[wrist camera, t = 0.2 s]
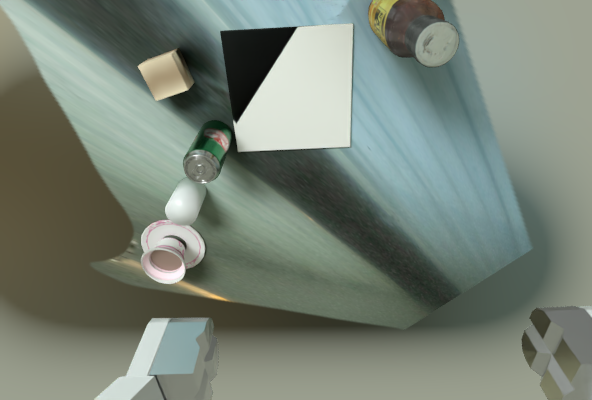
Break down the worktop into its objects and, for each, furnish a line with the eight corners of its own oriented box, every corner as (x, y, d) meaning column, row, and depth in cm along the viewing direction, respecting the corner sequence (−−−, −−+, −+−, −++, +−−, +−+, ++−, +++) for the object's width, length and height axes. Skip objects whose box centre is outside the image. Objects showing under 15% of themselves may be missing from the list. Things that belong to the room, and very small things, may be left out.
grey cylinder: (174, 177, 65) (161, 200, 59) (203, 176, 65) (193, 198, 59) (180, 202, 68) (169, 226, 62) (208, 201, 68) (199, 225, 62)
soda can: (239, 132, 61) (227, 168, 51) (220, 154, 63) (205, 193, 53) (212, 112, 59) (194, 144, 49) (194, 135, 61) (173, 171, 51)
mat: (220, 30, 53) (220, 31, 52) (352, 23, 52) (353, 23, 52) (238, 150, 62) (237, 151, 62) (349, 145, 62) (350, 146, 61)
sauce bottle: (358, 5, 51) (386, 29, 34) (401, -26, 49) (453, -16, 32) (380, 48, 54) (417, 90, 37) (422, 21, 52) (481, 52, 35)
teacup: (131, 224, 71) (117, 246, 66) (192, 213, 69) (183, 234, 64) (157, 272, 77) (147, 295, 72) (214, 262, 76) (208, 285, 70)
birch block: (147, 59, 55) (137, 66, 52) (179, 47, 54) (171, 54, 51) (164, 92, 57) (156, 100, 54) (194, 82, 57) (188, 90, 53)
